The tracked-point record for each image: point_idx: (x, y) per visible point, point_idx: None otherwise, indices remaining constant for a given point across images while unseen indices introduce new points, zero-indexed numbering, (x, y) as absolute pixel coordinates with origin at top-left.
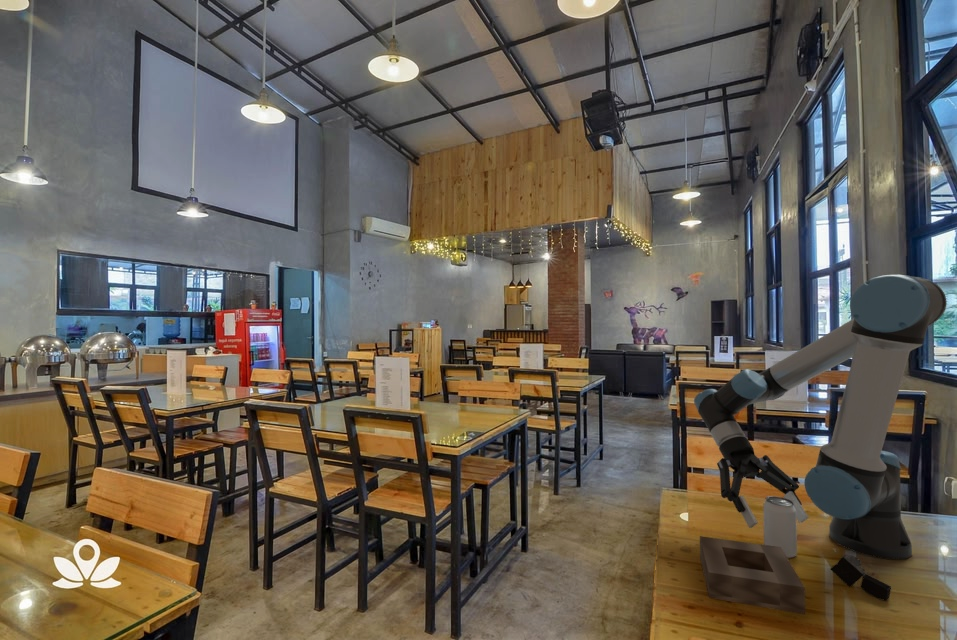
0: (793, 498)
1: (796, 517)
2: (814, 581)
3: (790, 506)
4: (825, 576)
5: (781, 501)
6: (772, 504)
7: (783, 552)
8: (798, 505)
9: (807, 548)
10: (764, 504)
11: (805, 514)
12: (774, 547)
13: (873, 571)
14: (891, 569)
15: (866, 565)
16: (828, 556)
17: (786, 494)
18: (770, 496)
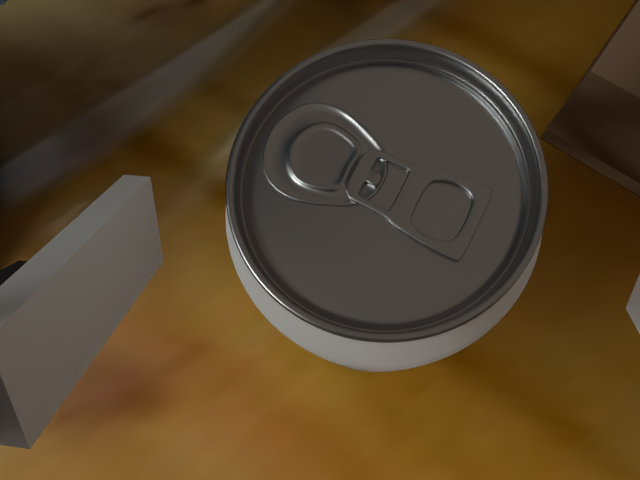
0: (47, 286)
1: (145, 283)
2: (466, 27)
3: (374, 49)
4: None
5: (335, 194)
6: (530, 155)
7: (632, 14)
8: (93, 231)
9: (186, 271)
10: (520, 288)
11: (121, 189)
12: (637, 76)
13: (122, 25)
14: (32, 18)
15: (93, 67)
16: (170, 174)
17: (14, 396)
18: (362, 334)
